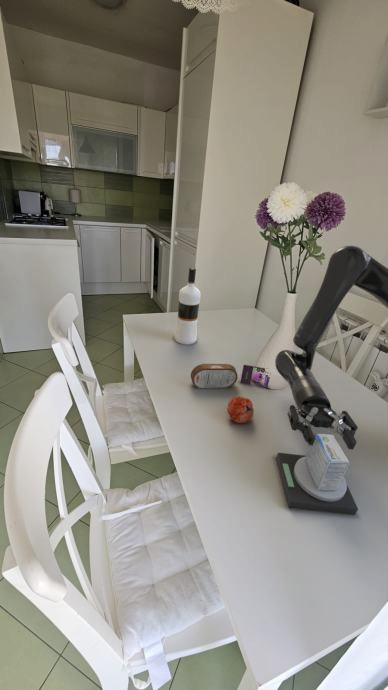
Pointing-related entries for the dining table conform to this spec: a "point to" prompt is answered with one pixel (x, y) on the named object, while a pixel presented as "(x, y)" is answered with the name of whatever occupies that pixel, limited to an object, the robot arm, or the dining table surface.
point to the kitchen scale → (311, 488)
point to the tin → (214, 375)
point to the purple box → (253, 375)
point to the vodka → (188, 311)
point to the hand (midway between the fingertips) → (332, 444)
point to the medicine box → (326, 462)
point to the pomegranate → (240, 409)
